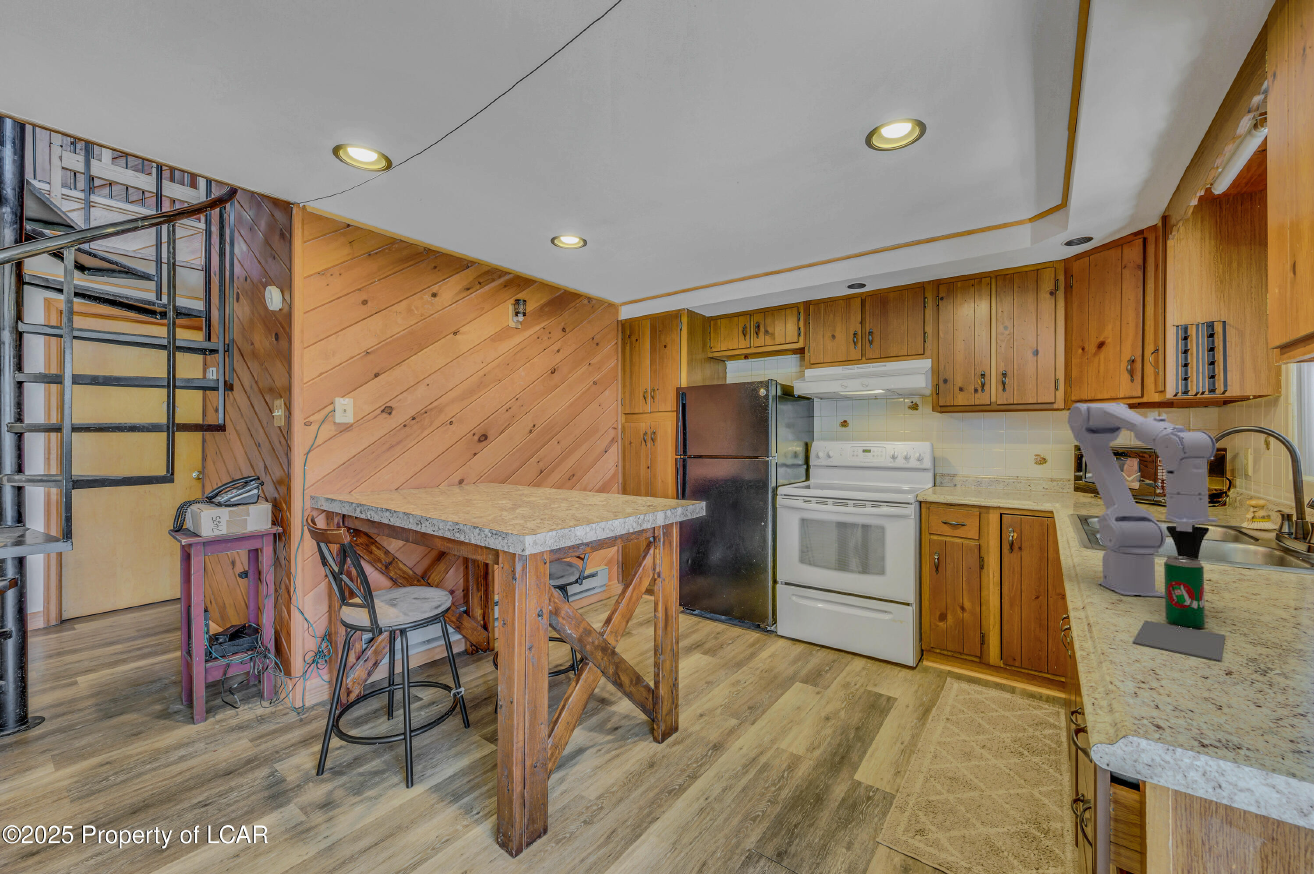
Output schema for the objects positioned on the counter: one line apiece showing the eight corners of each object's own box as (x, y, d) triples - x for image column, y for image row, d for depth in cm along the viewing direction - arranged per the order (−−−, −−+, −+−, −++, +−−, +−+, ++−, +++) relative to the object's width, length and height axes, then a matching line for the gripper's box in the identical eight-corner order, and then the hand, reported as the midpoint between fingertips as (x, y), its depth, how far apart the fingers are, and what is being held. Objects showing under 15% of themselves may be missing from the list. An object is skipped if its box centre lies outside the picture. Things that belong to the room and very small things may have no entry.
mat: (1145, 621, 96) (1145, 620, 96) (1225, 636, 89) (1225, 634, 89) (1132, 643, 86) (1132, 641, 86) (1221, 661, 79) (1221, 660, 79)
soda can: (1187, 620, 97) (1185, 555, 97) (1213, 630, 92) (1212, 561, 92) (1157, 619, 97) (1156, 555, 97) (1182, 629, 92) (1180, 561, 92)
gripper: (1214, 498, 93) (1216, 574, 93) (1218, 492, 103) (1220, 561, 103) (1160, 495, 98) (1162, 567, 98) (1168, 490, 108) (1170, 555, 108)
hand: (1188, 564), depth 101 cm, fingers closed
